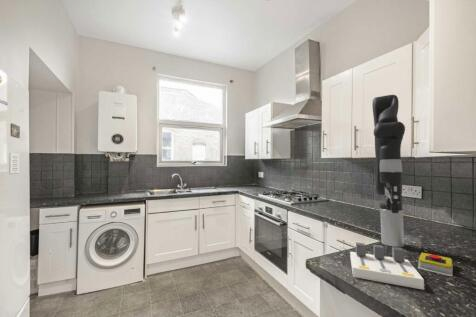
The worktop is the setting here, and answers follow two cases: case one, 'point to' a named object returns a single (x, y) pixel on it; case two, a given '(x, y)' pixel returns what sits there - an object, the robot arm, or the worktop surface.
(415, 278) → the switch panel
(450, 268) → the emergency button
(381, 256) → the switch
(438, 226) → the worktop surface
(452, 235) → the worktop surface
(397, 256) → the switch
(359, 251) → the switch
